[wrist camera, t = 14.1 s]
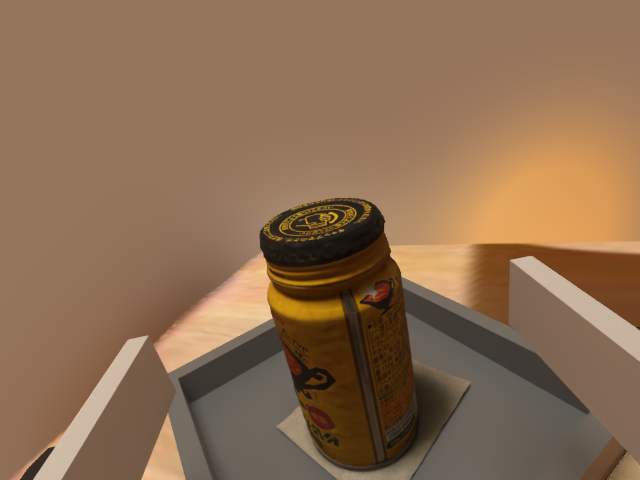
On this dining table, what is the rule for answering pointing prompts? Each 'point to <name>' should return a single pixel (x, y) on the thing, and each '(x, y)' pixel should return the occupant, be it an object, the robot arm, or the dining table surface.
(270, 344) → the tray
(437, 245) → the dining table surface
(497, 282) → the dining table surface
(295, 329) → the condiment
